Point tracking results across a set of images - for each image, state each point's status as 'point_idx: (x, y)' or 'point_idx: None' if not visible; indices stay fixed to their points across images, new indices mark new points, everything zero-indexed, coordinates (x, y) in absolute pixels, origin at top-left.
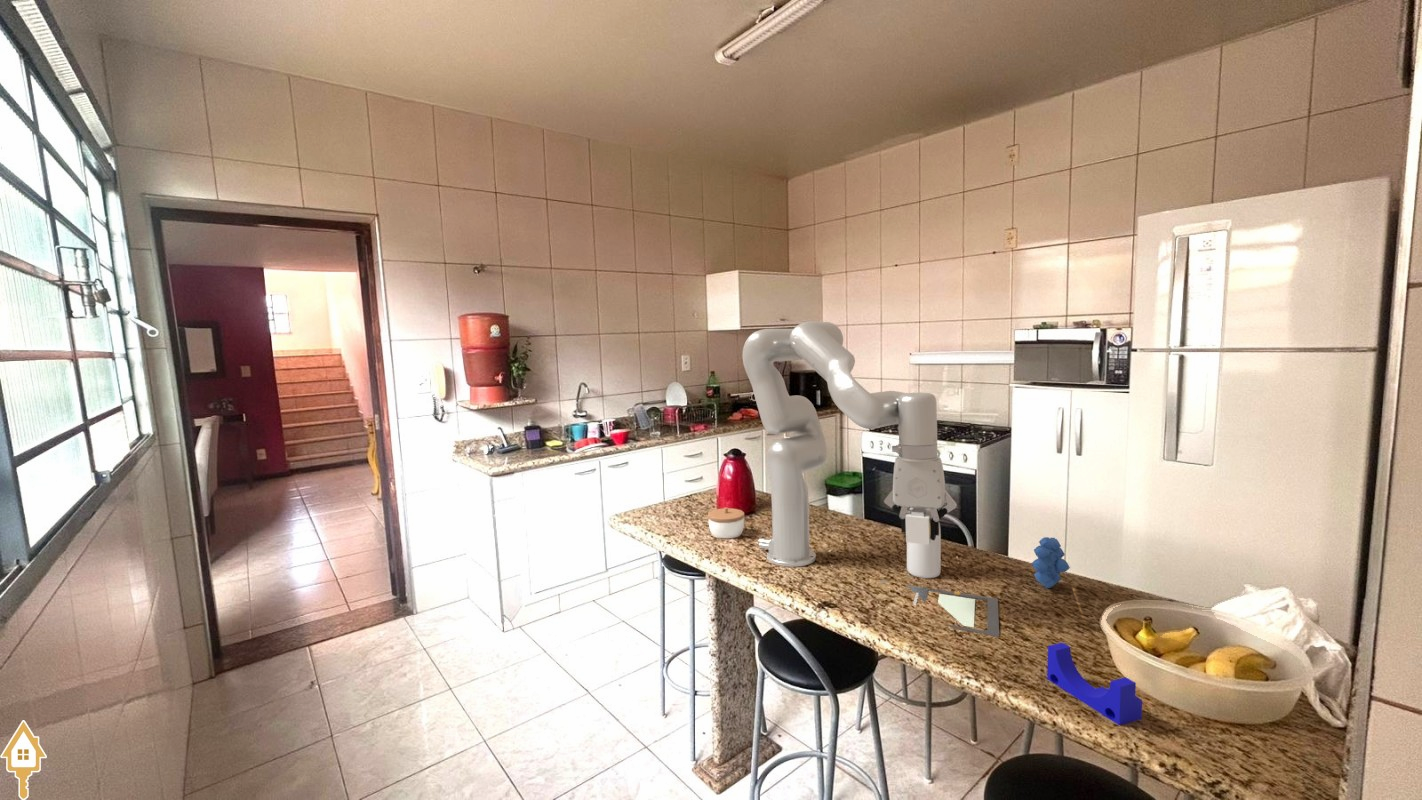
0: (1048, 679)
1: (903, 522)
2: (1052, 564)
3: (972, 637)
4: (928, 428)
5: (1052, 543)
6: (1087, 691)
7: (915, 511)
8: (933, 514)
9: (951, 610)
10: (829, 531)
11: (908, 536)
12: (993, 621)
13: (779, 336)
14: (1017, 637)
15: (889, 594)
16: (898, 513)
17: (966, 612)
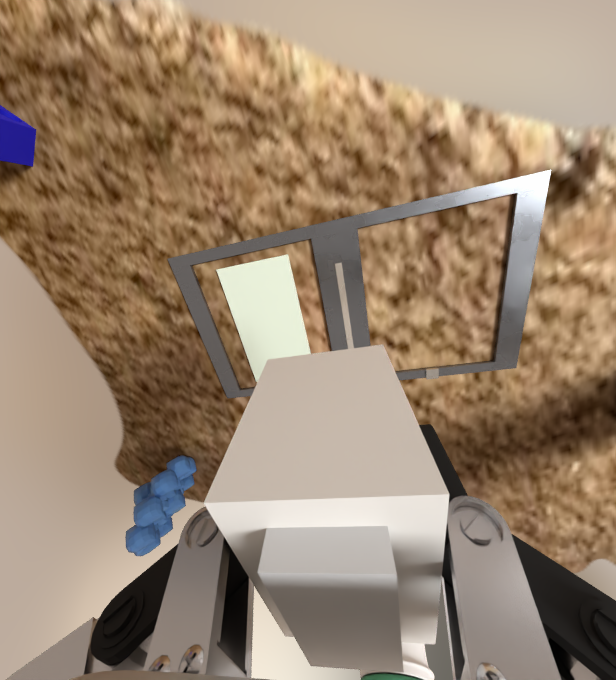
0: (30, 126)
1: (441, 475)
2: (150, 490)
3: (204, 227)
4: None
5: (126, 536)
6: None
7: (357, 596)
8: (205, 572)
9: (274, 318)
10: (581, 537)
11: (374, 363)
12: (198, 312)
13: None
14: (149, 277)
15: (406, 330)
16: (526, 556)
17: (249, 324)
